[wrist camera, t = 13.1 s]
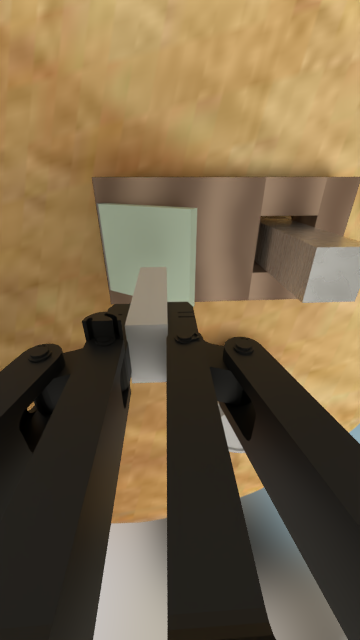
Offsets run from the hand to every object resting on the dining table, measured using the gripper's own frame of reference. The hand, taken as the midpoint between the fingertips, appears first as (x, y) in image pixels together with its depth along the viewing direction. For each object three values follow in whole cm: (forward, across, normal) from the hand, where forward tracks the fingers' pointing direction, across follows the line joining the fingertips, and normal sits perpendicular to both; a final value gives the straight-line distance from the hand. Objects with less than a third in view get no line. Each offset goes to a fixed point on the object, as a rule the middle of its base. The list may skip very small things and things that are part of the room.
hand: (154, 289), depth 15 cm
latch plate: (+8, -1, 0) cm, 8 cm away
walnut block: (+16, +6, 0) cm, 17 cm away
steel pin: (+16, +12, 0) cm, 20 cm away
